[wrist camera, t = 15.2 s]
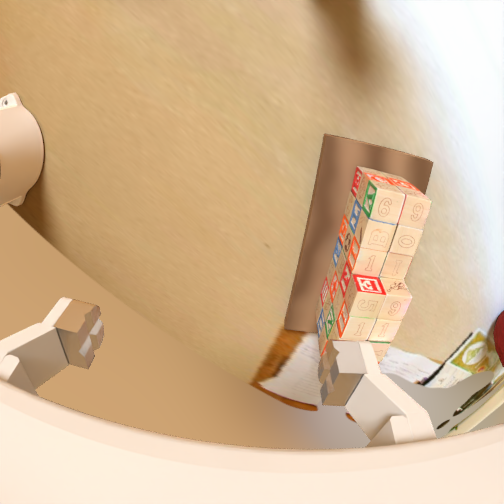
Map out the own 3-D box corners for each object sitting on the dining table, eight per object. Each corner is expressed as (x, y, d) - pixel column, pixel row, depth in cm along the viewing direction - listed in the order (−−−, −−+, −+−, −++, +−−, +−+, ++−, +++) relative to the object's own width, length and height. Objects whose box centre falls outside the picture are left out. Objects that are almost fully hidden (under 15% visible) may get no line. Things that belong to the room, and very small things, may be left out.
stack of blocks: (354, 164, 35) (388, 197, 24) (402, 175, 35) (448, 212, 24) (314, 311, 45) (321, 377, 34) (354, 316, 45) (371, 380, 34)
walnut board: (284, 320, 48) (284, 329, 47) (324, 133, 35) (326, 135, 33) (368, 329, 48) (371, 337, 46) (426, 158, 35) (433, 162, 33)
